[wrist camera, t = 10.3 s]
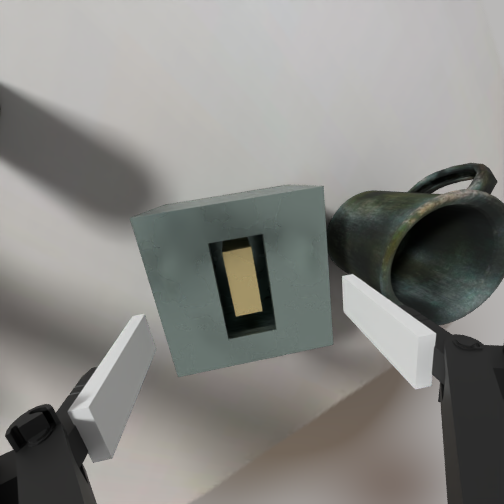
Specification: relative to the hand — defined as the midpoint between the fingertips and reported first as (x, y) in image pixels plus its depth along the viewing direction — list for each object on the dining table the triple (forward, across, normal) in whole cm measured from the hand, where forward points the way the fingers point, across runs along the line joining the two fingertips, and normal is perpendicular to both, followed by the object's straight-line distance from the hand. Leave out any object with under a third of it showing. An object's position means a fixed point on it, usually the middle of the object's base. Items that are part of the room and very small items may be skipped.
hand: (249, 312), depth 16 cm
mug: (+14, +17, +1) cm, 22 cm away
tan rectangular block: (+13, 0, 0) cm, 13 cm away
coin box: (+14, 0, 0) cm, 14 cm away
